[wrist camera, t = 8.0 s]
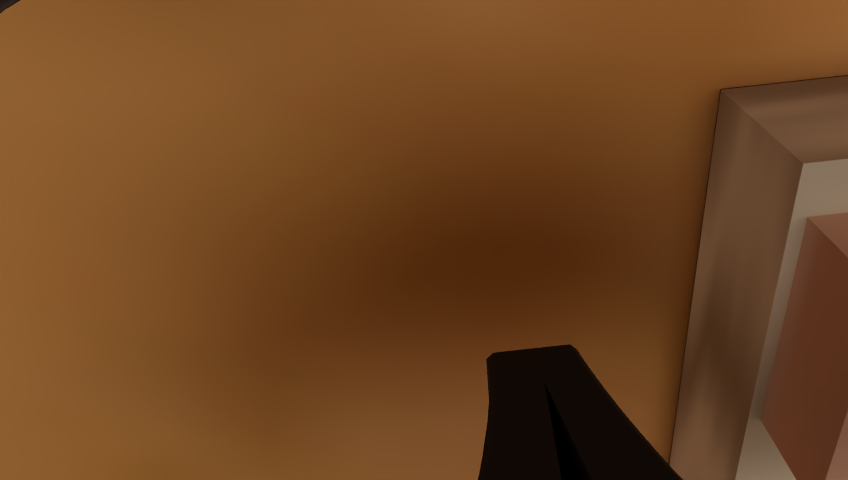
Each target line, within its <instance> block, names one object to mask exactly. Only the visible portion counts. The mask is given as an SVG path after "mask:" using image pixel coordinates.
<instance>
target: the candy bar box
mask: <svg viewBox="0 0 848 480" xmlns="http://www.w3.org/2000/svg"><path fill="white" fill-rule="evenodd" d="M18 1H20V0H0V13H1V12H2V11H4V10H5V9H7V8H8V7H10V6H12V5H13V4H15V3H17V2H18Z"/></svg>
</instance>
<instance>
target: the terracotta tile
mask: <svg viewBox="0 0 848 480" xmlns="http://www.w3.org/2000/svg"><path fill="white" fill-rule="evenodd" d="M761 422H762V423H763V425H764V427H765V428H766V430H767V432H768V433H769V435H770V437H771V438H772V440H773V442H774V443H775V445H776V447H777V448H778V450H779V452H780V453H781V455H782V457H783V458H784V460H785V462H786V463H787V465H788V467H789V468H790V470H791V472H792V473H793V475H794V477H795V478H796V480H848V212H847V213H838V214H829V215H819V216H810V217H807V221H806V226H805V230H804V234H803V239H802V243H801V248H800V252H799V256H798V261H797V265H796V269H795V274H794V278H793V282H792V287H791V291H790V295H789V300H788V304H787V308H786V313H785V317H784V322H783V326H782V330H781V335H780V339H779V343H778V348H777V352H776V356H775V361H774V365H773V369H772V374H771V378H770V382H769V387H768V391H767V396H766V400H765V404H764V409H763V413H762V417H761Z"/></svg>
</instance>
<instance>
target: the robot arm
mask: <svg viewBox="0 0 848 480" xmlns="http://www.w3.org/2000/svg"><path fill="white" fill-rule="evenodd" d="M487 375H488V390H489V410H488V422H487V429H486V436H485V443H484V450H483V457H482V463H481V468H480V473H479V477H478V480H683V479H682V478H681V477H680V476H679V475H678V474H677V473H676V472H675V471H674V470H673V469H672V467H671V466H670V465H669V464H668V463H667V462H666V461H665V460H664V459H663V458H662V457H661V456H660V454H659V453H658V452H657V451H656V450H655V449H654V448H653V447H652V445H651V444H650V443H649V442H648V441H647V440H646V438H645V437H644V436H643V435H642V434H641V433H640V432H639V430H638V429H637V428H636V427H635V426H634V425H633V423H632V422H631V421H630V420H629V419H628V417H627V416H626V415H625V414H624V413H623V411H622V410H621V409H620V408H619V406H618V405H617V404H616V403H615V401H614V400H613V399H612V398H611V396H610V395H609V394H608V392H607V391H606V390H605V389H604V387H603V386H602V385H601V383H600V382H599V381H598V379H597V378H596V377H595V375H594V374H593V372H592V371H591V370H590V368H589V367H588V365H587V364H586V362H585V361H584V360H583V358H582V357H581V355H580V354H579V352H578V351H577V349H576V348H574V347H573V346H572V345H570V344H569V345H560V346H551V347H542V348H533V349H524V350H514V351H505V352H496V353H493V354H492V355H490V356H489V357H488V358H487Z"/></svg>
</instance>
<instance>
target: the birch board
mask: <svg viewBox="0 0 848 480" xmlns="http://www.w3.org/2000/svg"><path fill="white" fill-rule="evenodd" d="M847 212H848V76H841V77H832V78H823V79H814V80H805V81H796V82H787V83H778V84H769V85H760V86H750V87H741V88H732V89H723V90H721V94H720V101H719V108H718V116H717V123H716V130H715V137H714V145H713V152H712V159H711V167H710V174H709V181H708V188H707V196H706V203H705V210H704V217H703V225H702V232H701V239H700V247H699V254H698V261H697V268H696V276H695V283H694V290H693V297H692V305H691V312H690V319H689V326H688V334H687V341H686V348H685V356H684V363H683V370H682V377H681V385H680V392H679V399H678V406H677V414H676V421H675V428H674V435H673V443H672V450H671V457H670V466H671V467H672V469H673V470H674V471H675V472H676V473H677V474H678V475H679V476H680V477H681V478H682V479H683V480H796V478H795V477H794V475H793V473H792V472H791V470H790V468H789V467H788V465H787V463H786V462H785V460H784V458H783V457H782V455H781V453H780V452H779V450H778V448H777V447H776V445H775V443H774V442H773V440H772V438H771V437H770V435H769V433H768V432H767V430H766V428H765V427H764V425H763V423H762V422H761V417H762V413H763V409H764V404H765V400H766V396H767V391H768V387H769V382H770V378H771V374H772V369H773V365H774V361H775V356H776V352H777V348H778V343H779V339H780V335H781V330H782V326H783V322H784V317H785V313H786V308H787V304H788V300H789V295H790V291H791V287H792V282H793V278H794V274H795V269H796V265H797V261H798V256H799V252H800V248H801V243H802V239H803V234H804V230H805V226H806V221H807V217H810V216H819V215H829V214H838V213H847Z"/></svg>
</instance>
